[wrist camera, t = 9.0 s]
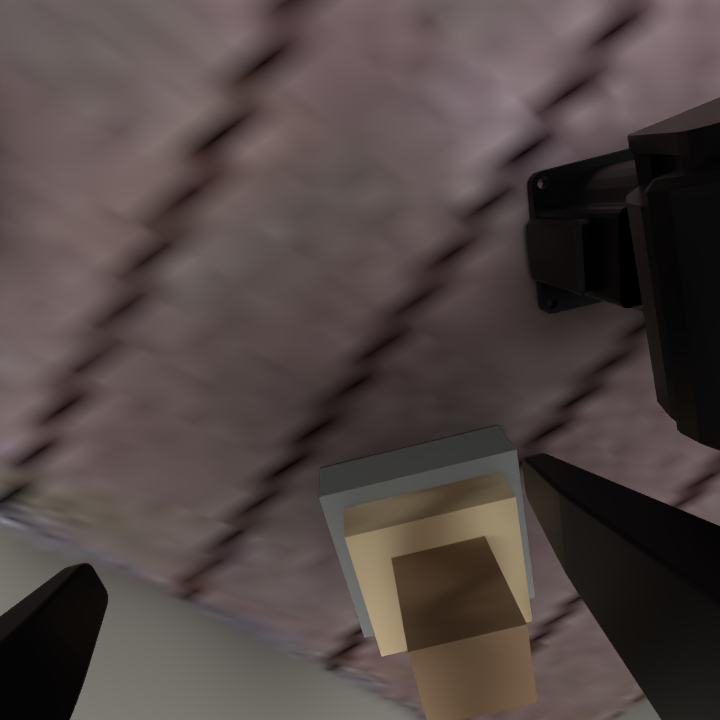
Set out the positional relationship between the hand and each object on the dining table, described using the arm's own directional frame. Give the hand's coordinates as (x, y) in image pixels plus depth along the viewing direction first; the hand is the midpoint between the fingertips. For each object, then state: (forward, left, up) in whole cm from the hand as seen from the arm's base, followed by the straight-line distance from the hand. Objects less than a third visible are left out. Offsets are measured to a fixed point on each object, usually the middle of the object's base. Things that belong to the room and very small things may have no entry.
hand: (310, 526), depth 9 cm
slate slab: (-3, +12, -13) cm, 18 cm away
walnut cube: (-3, +12, -8) cm, 15 cm away
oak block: (-3, +12, -10) cm, 16 cm away
